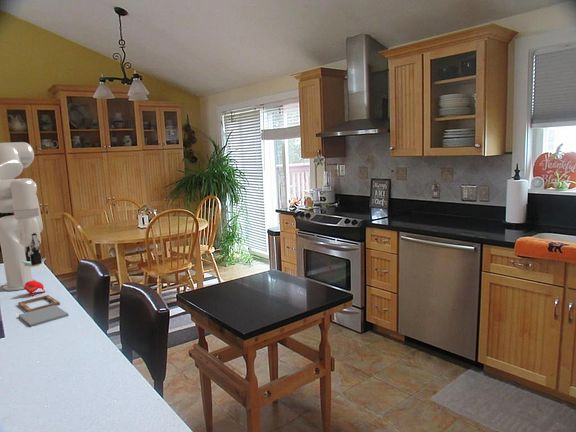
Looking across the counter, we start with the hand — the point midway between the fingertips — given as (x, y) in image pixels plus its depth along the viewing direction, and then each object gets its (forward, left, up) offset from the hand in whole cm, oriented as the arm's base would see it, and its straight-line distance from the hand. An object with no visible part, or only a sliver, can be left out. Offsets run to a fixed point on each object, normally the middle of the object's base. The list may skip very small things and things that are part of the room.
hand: (34, 262), depth 157 cm
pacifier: (-1, 0, -1) cm, 2 cm away
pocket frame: (-7, +1, -18) cm, 19 cm away
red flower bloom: (-23, +4, -18) cm, 29 cm away
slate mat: (+8, -2, -18) cm, 20 cm away
